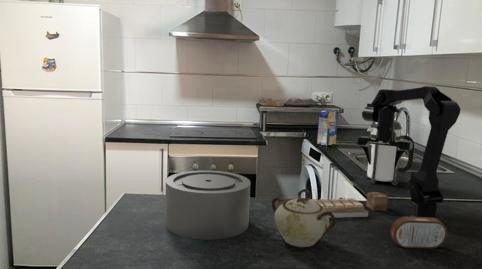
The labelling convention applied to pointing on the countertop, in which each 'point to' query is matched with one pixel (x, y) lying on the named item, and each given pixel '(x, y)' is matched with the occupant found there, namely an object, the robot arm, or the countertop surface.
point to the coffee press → (386, 157)
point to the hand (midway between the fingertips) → (382, 166)
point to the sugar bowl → (301, 220)
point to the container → (207, 204)
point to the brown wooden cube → (377, 201)
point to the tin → (418, 232)
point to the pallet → (340, 204)
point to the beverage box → (327, 127)
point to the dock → (350, 213)
